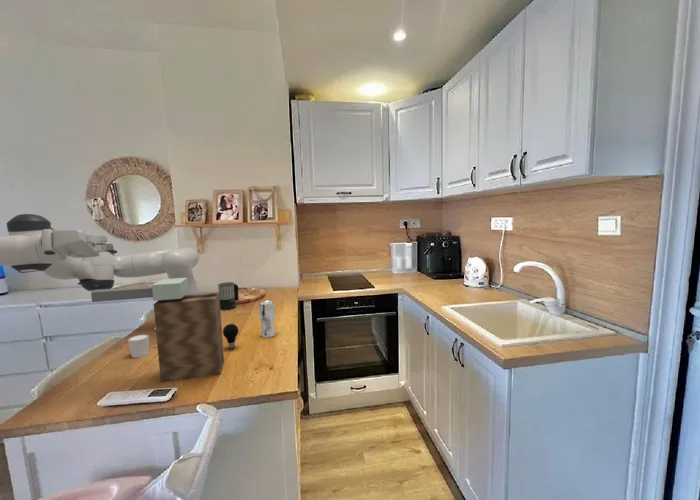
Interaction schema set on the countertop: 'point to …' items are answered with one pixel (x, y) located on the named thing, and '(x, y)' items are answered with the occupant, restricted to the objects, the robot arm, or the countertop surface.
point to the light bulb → (230, 334)
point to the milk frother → (228, 295)
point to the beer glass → (267, 318)
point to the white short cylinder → (139, 345)
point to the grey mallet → (146, 291)
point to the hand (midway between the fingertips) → (110, 242)
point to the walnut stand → (189, 336)
